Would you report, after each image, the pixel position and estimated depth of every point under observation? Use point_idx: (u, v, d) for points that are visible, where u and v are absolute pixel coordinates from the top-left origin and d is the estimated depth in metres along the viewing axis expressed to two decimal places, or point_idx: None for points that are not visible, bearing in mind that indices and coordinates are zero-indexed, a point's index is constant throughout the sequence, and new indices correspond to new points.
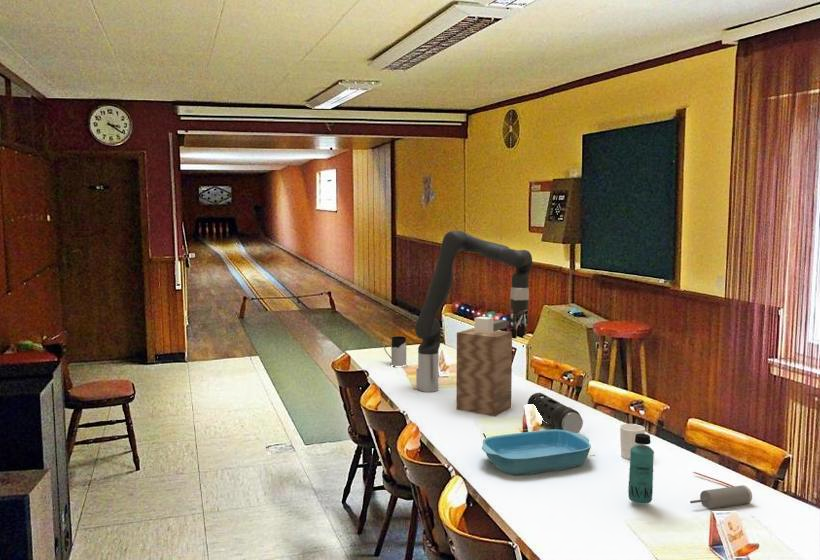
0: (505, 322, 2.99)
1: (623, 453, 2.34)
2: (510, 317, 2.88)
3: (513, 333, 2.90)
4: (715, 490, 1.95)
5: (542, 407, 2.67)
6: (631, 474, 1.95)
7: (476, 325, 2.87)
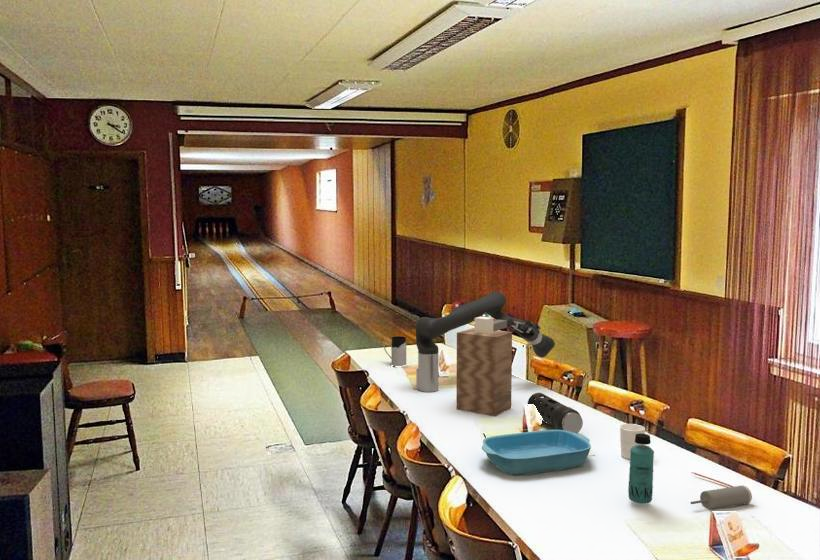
0: (505, 322, 2.99)
1: (623, 453, 2.34)
2: (539, 328, 3.17)
3: (530, 324, 3.12)
4: (715, 490, 1.95)
5: (542, 407, 2.67)
6: (631, 474, 1.95)
7: (476, 325, 2.87)
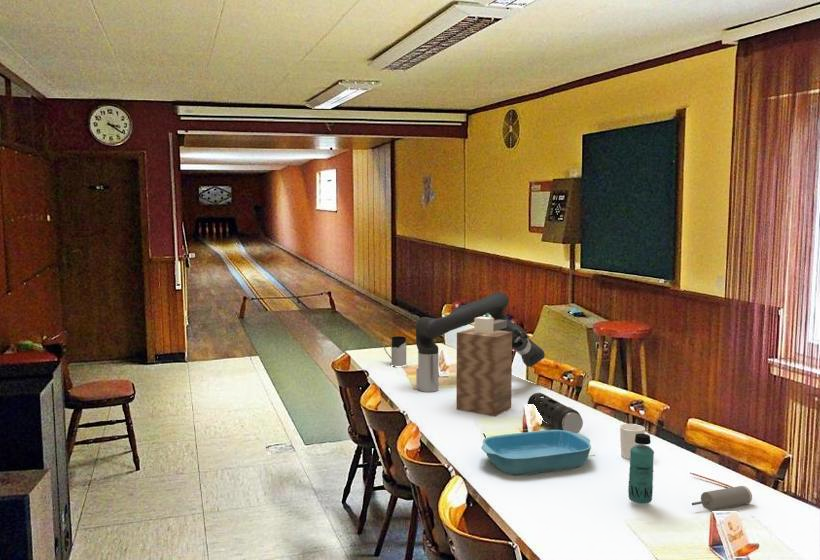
0: (505, 322, 2.99)
1: (623, 453, 2.34)
2: (528, 337, 3.07)
3: (518, 333, 3.03)
4: (716, 491, 1.94)
5: (542, 407, 2.67)
6: (631, 474, 1.95)
7: (476, 325, 2.87)
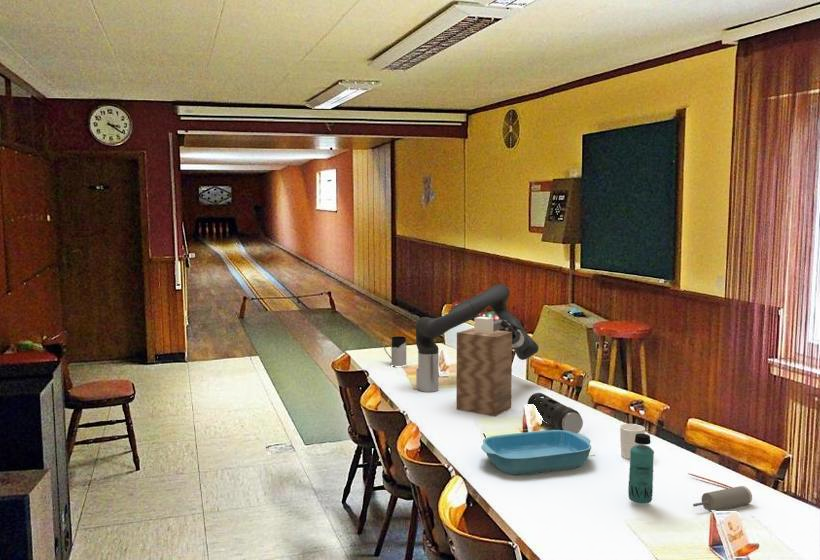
0: None
1: (623, 453, 2.34)
2: (518, 329, 3.00)
3: (506, 324, 2.97)
4: (717, 492, 1.94)
5: (542, 407, 2.67)
6: (631, 474, 1.95)
7: (476, 325, 2.87)
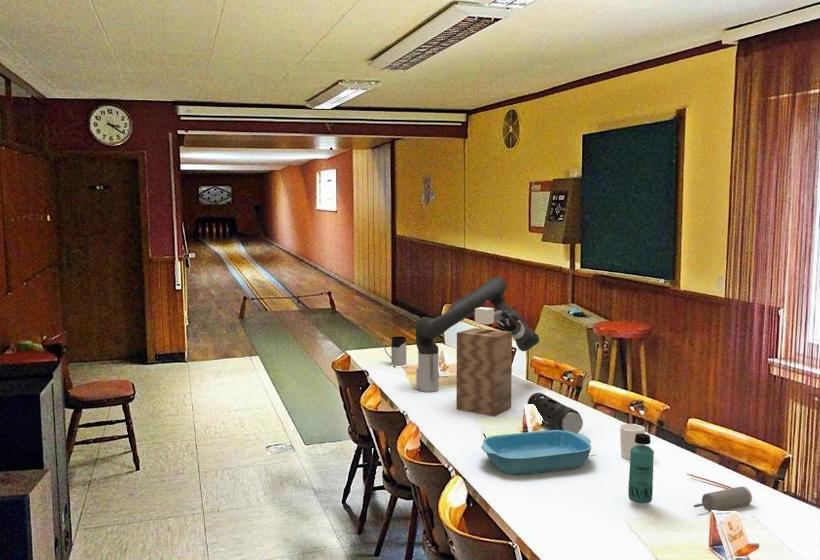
0: None
1: (623, 453, 2.34)
2: (519, 319, 3.00)
3: (506, 315, 2.97)
4: (717, 493, 1.93)
5: (542, 407, 2.67)
6: (631, 474, 1.95)
7: (477, 315, 2.87)
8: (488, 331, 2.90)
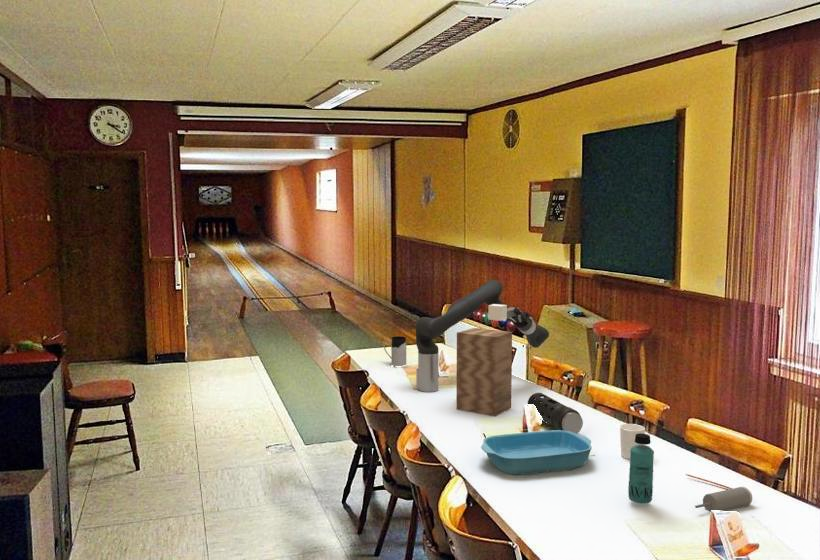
0: None
1: (623, 453, 2.34)
2: (530, 316, 3.09)
3: (518, 312, 3.06)
4: (718, 493, 1.93)
5: (542, 407, 2.67)
6: (631, 474, 1.95)
7: (490, 312, 2.96)
8: (488, 331, 2.90)
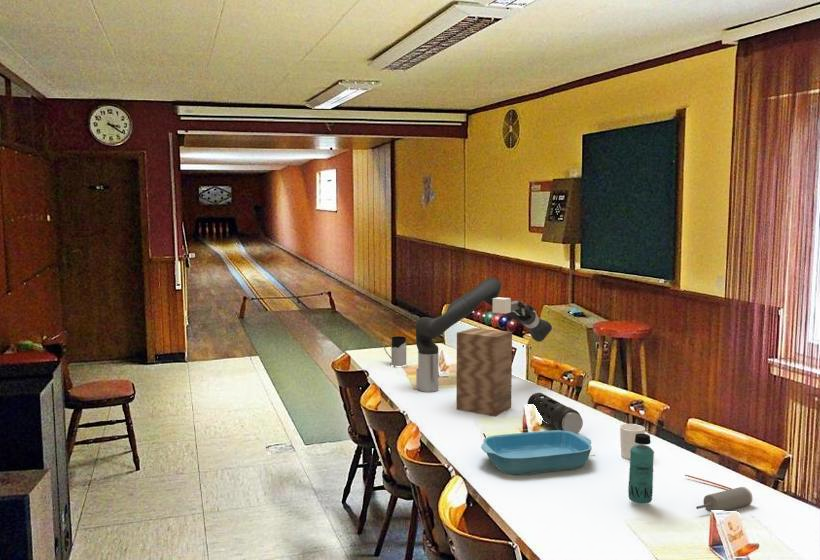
0: None
1: (623, 453, 2.34)
2: (534, 309, 3.12)
3: (522, 305, 3.09)
4: (719, 494, 1.93)
5: (542, 407, 2.67)
6: (631, 474, 1.95)
7: (494, 305, 2.99)
8: (488, 331, 2.90)
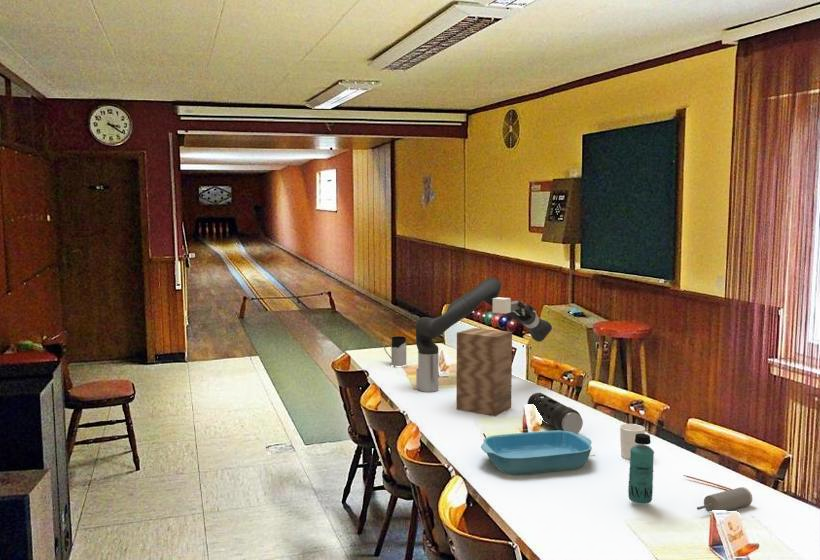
0: None
1: (623, 453, 2.34)
2: (534, 309, 3.12)
3: (522, 305, 3.09)
4: (719, 494, 1.92)
5: (542, 407, 2.67)
6: (631, 474, 1.95)
7: (494, 305, 2.99)
8: (488, 331, 2.90)
